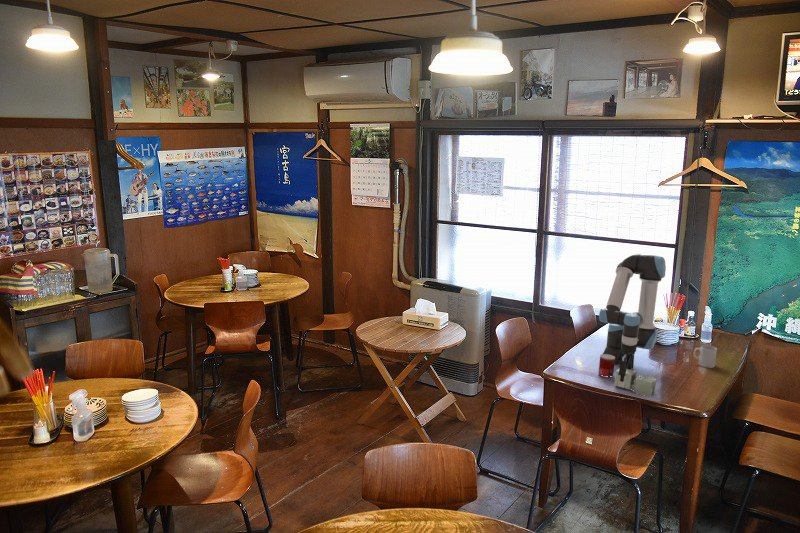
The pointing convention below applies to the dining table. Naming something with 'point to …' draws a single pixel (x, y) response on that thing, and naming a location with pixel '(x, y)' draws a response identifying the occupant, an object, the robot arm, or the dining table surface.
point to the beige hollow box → (629, 378)
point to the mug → (706, 356)
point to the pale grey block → (644, 385)
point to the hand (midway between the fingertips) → (624, 384)
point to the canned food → (606, 365)
